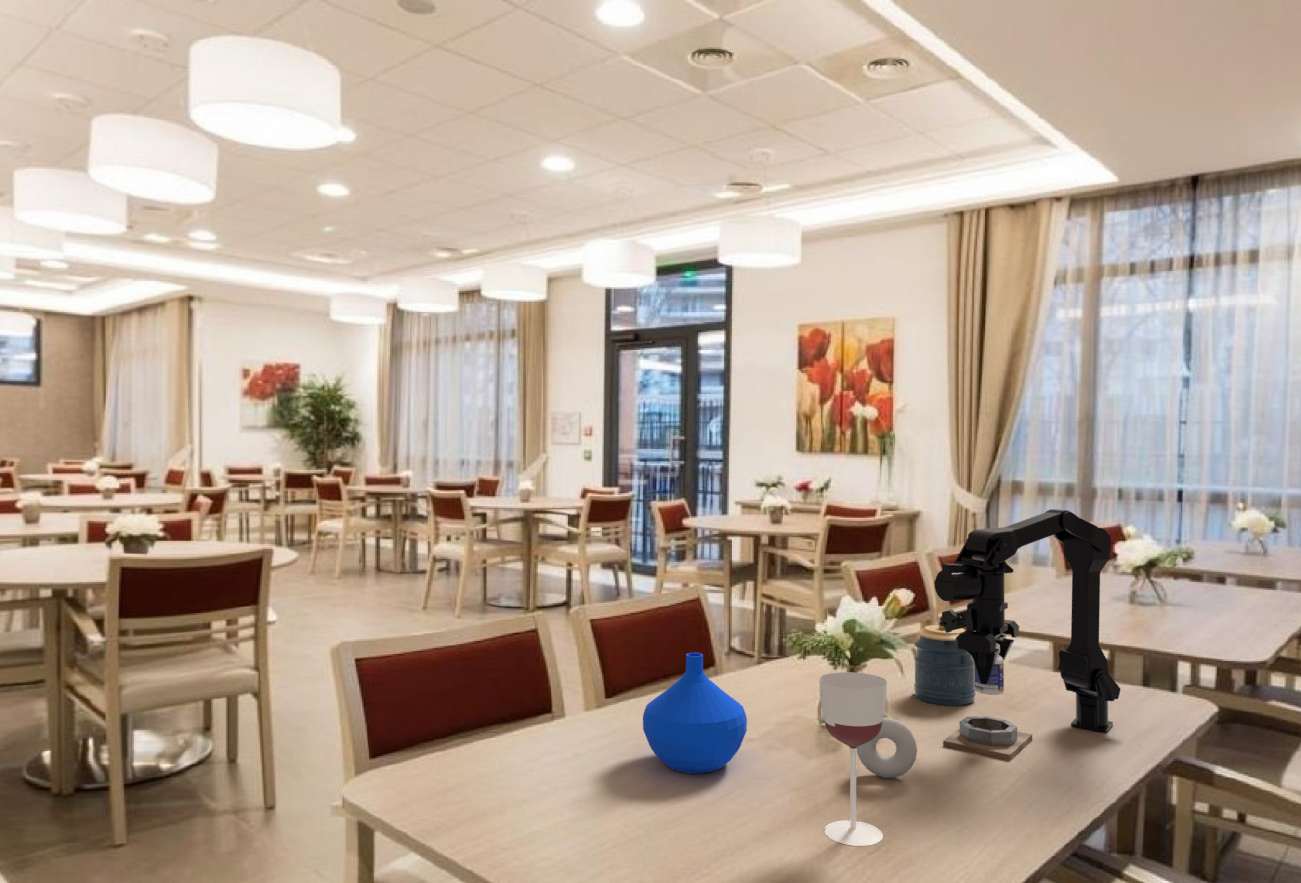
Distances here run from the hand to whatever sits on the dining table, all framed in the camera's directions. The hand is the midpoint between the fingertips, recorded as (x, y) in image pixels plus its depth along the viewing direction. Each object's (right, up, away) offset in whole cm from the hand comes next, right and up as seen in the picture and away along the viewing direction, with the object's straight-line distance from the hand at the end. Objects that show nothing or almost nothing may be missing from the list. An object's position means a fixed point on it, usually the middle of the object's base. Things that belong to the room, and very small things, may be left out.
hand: (988, 680), depth 163 cm
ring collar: (0, -12, 0) cm, 12 cm away
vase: (-56, -12, -10) cm, 58 cm away
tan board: (0, -12, 0) cm, 12 cm away
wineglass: (-34, -12, -38) cm, 53 cm away
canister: (+2, -12, +29) cm, 32 cm away
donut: (-24, -12, -17) cm, 32 cm away
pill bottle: (0, -2, 0) cm, 2 cm away
